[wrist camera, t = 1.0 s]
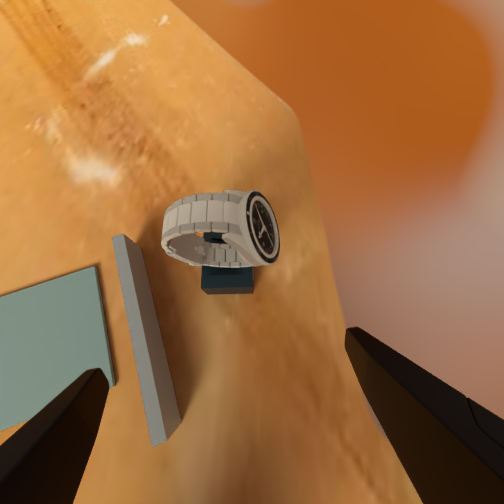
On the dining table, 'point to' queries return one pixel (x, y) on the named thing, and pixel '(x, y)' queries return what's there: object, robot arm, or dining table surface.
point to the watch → (223, 237)
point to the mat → (50, 342)
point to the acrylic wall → (146, 342)
